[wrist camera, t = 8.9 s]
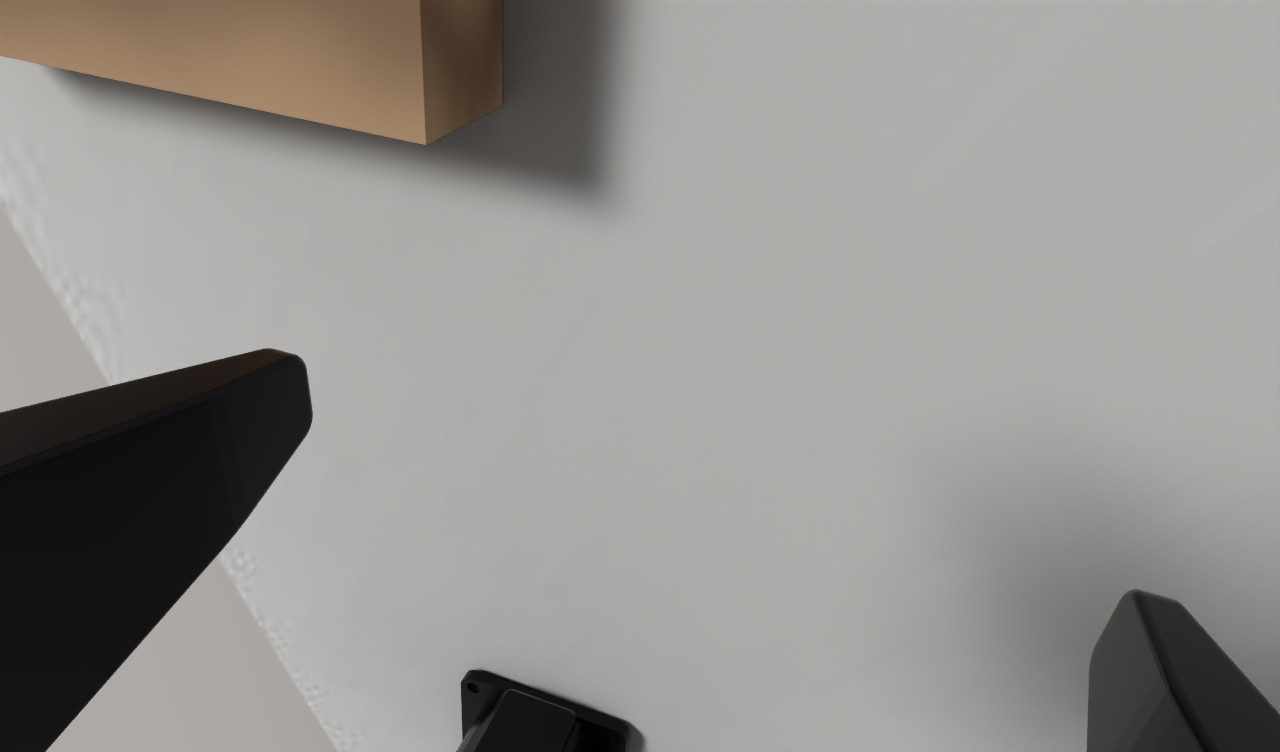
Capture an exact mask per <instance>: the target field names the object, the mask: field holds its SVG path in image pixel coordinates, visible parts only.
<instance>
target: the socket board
mask: <svg viewBox="0 0 1280 752" xmlns="http://www.w3.org/2000/svg"><path fill="white" fill-rule="evenodd" d="M502 47H503V0H0V56H4V57H9V58H13V59H18V60H23V61H28V62H32V63H37V64H42V65H47V66H52V67H56V68H61V69H66V70H71V71H75V72H80V73H85V74H90V75H94V76H99V77H104V78H109V79H113V80H118V81H123V82H128V83H133V84H137V85H142V86H147V87H152V88H156V89H161V90H166V91H171V92H175V93H180V94H185V95H190V96H194V97H199V98H204V99H209V100H214V101H218V102H223V103H228V104H233V105H237V106H242V107H247V108H252V109H256V110H261V111H266V112H271V113H275V114H280V115H285V116H290V117H294V118H299V119H304V120H309V121H314V122H318V123H323V124H328V125H333V126H337V127H342V128H347V129H352V130H356V131H361V132H366V133H371V134H375V135H380V136H385V137H390V138H395V139H399V140H404V141H409V142H414V143H418V144H423V145H427V144H429V143H431V142H433V141H435V140H437V139H439V138H441V137H443V136H444V135H446V134H448V133H450V132H452V131H454V130H456V129H458V128H460V127H462V126H464V125H466V124H468V123H470V122H472V121H474V120H476V119H478V118H479V117H481V116H483V115H485V114H487V113H489V112H491V111H493V110H495V109H497V108H499V107H501V106H502Z"/></svg>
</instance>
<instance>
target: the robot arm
mask: <svg viewBox="0 0 1280 752" xmlns="http://www.w3.org/2000/svg"><path fill="white" fill-rule="evenodd" d="M312 417H313V412H312V404H311V397H310V390H309V383H308V376H307V369H306V365H305V363H304V361H303V360H302V359H301V358H300V357H299V356H297V355H294V354H291V353H287V352H284V351H280V350H276V349H272V348H266V349H261V350H257V351H253V352H248V353H244V354H240V355H236V356H232V357H228V358H224V359H220V360H215V361H211V362H207V363H203V364H199V365H195V366H191V367H187V368H182V369H178V370H174V371H170V372H166V373H162V374H158V375H153V376H149V377H145V378H141V379H137V380H133V381H129V382H125V383H120V384H116V385H112V386H108V387H104V388H100V389H96V390H92V391H87V392H83V393H79V394H75V395H71V396H67V397H63V398H59V399H55V400H50V401H46V402H42V403H38V404H34V405H30V406H25V407H21V408H17V409H13V410H9V411H5V412H1V413H0V752H46V750H47V749H48V748H49V747H50V746H51V745H52V744H53V742H54V741H55V740H56V739H57V738H58V737H59V736H60V734H61V733H62V732H63V731H64V730H65V728H67V726H68V725H69V724H70V723H71V722H72V720H74V718H75V717H76V716H77V715H78V714H79V713H80V711H81V710H82V709H83V708H84V707H85V706H86V705H87V704H88V702H89V701H90V700H91V699H92V698H93V697H94V696H95V694H96V693H97V692H98V691H99V690H100V689H101V688H102V686H103V685H104V684H105V683H106V682H107V681H108V680H109V678H110V677H111V676H112V675H113V674H114V672H116V670H117V669H118V668H119V667H120V666H121V665H122V663H123V662H124V661H125V660H126V659H127V658H128V657H129V656H130V654H131V653H132V652H133V651H134V650H135V649H136V648H137V646H138V645H139V644H140V643H141V642H142V641H143V640H144V639H145V637H146V636H147V635H148V634H149V633H150V632H151V631H152V629H153V628H154V627H155V626H156V625H157V624H158V623H159V621H160V620H161V619H162V618H163V617H164V616H165V615H166V613H167V612H168V611H169V610H170V609H171V608H172V607H173V605H174V604H175V603H176V602H177V601H178V600H179V599H180V597H181V596H182V595H183V594H184V593H185V592H186V590H187V589H188V588H189V587H190V586H191V585H192V584H193V583H194V581H195V580H196V579H197V578H198V577H199V575H201V573H202V572H203V571H204V570H205V569H206V568H207V566H208V565H209V564H210V563H211V562H212V561H213V560H214V559H215V557H216V556H217V555H218V554H219V553H220V552H221V551H222V549H223V548H224V547H225V546H226V545H227V543H228V542H229V541H230V540H231V539H232V537H233V536H234V535H235V534H236V533H237V531H238V530H239V529H240V527H241V526H242V525H243V523H244V522H245V521H246V519H247V518H248V517H249V515H250V514H251V513H252V511H253V510H254V508H255V507H256V506H257V504H258V503H259V501H260V500H261V499H262V497H263V496H264V494H265V493H266V492H267V490H268V489H269V487H270V486H271V484H272V483H273V482H274V480H275V479H276V477H277V476H278V475H279V473H280V472H281V470H282V469H283V468H284V466H285V465H286V463H287V462H288V461H289V459H290V458H291V456H292V455H293V454H294V452H295V451H296V449H297V448H298V446H299V445H300V444H301V442H302V441H303V439H304V438H305V437H306V435H307V433H308V431H309V429H310V427H311V423H312ZM461 701H462V734H463V741H462V743H461V744H460V746H459V748H458V749H457V751H456V752H628V748H629V740H630V731H629V729H628V727H627V726H625V725H624V724H623V723H621V722H619V721H617V720H614V719H611V718H608V717H605V716H603V715H600V714H597V713H594V712H592V711H589V710H586V709H583V708H580V707H578V706H575V705H572V704H569V703H566V702H564V701H561V700H558V699H555V698H553V697H550V696H547V695H544V694H541V693H539V692H536V691H533V690H530V689H527V688H525V687H522V686H519V685H516V684H513V683H511V682H508V681H505V680H502V679H500V678H497V677H494V676H491V675H488V674H486V673H483V672H480V671H477V670H469V671H468V672H467V673H466V675H465V676H464V678H463V679H462V682H461ZM1087 752H1280V714H1279V713H1278V712H1277V711H1276V709H1275V708H1274V707H1273V706H1272V705H1271V704H1270V703H1269V702H1268V700H1267V699H1266V698H1265V697H1264V696H1263V695H1262V694H1261V693H1260V691H1259V690H1258V689H1257V688H1256V687H1255V686H1254V685H1253V684H1252V682H1251V681H1250V680H1249V679H1248V678H1247V677H1246V676H1245V675H1244V673H1243V672H1242V671H1241V670H1240V669H1239V668H1238V667H1237V666H1236V664H1235V663H1234V662H1233V661H1232V660H1231V659H1230V658H1229V657H1228V655H1227V654H1226V653H1225V652H1224V651H1223V650H1222V649H1221V648H1220V646H1219V645H1218V644H1217V643H1216V642H1215V641H1214V640H1213V639H1212V638H1211V636H1210V635H1209V634H1208V633H1207V632H1206V631H1205V630H1204V629H1203V627H1202V626H1201V625H1200V624H1199V623H1198V622H1197V621H1196V620H1195V618H1194V617H1193V616H1192V615H1191V614H1190V613H1189V612H1188V611H1187V609H1186V608H1185V607H1184V606H1183V605H1182V604H1180V603H1179V602H1178V601H1176V600H1174V599H1171V598H1167V597H1163V596H1160V595H1156V594H1153V593H1149V592H1145V591H1142V590H1138V589H1134V590H1131V591H1128V592H1127V593H1126V594H1125V595H1124V596H1123V597H1122V598H1121V600H1120V601H1119V603H1118V605H1117V607H1116V609H1115V610H1114V612H1113V614H1112V616H1111V618H1110V620H1109V621H1108V623H1107V625H1106V627H1105V629H1104V631H1103V632H1102V634H1101V636H1100V638H1099V640H1098V642H1097V643H1096V646H1095V648H1094V650H1093V653H1092V657H1091V662H1090V669H1089V696H1088V728H1087Z"/></svg>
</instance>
